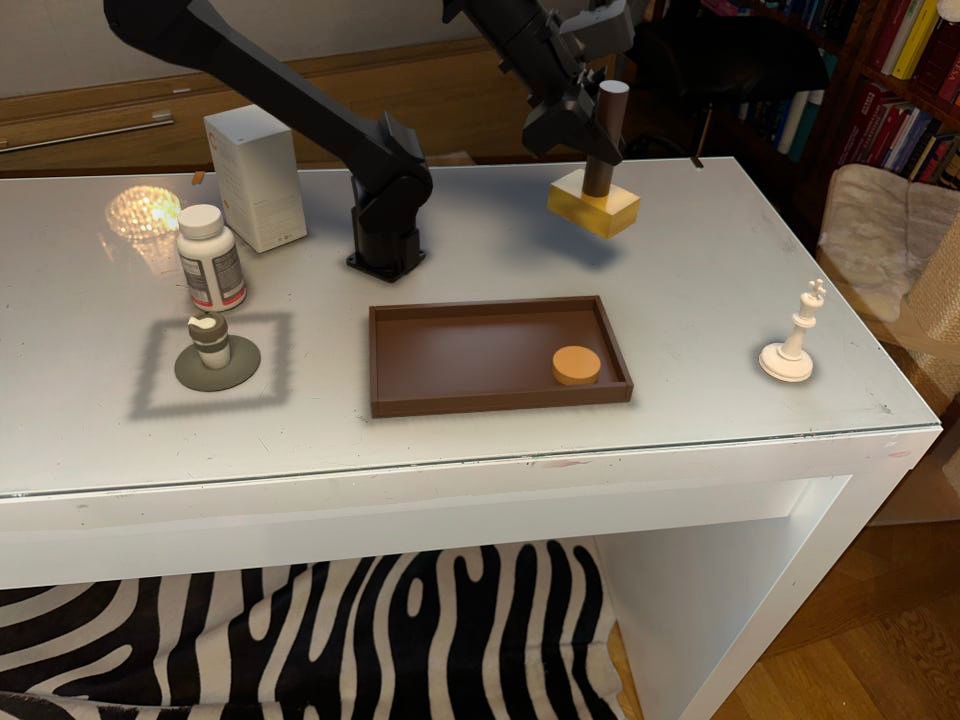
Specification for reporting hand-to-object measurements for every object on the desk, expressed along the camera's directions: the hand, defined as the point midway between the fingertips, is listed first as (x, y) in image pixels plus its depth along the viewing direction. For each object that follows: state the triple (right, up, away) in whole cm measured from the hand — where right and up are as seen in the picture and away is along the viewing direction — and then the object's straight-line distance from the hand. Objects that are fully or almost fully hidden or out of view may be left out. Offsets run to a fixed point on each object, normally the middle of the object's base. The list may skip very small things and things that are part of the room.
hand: (620, 156), depth 74 cm
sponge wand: (-2, -5, +5) cm, 7 cm away
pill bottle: (-41, -14, +3) cm, 43 cm away
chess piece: (+16, -21, -2) cm, 26 cm away
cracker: (-5, -21, -4) cm, 22 cm away
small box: (-39, -5, +13) cm, 41 cm away
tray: (-13, -20, -3) cm, 24 cm away
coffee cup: (-38, -20, -4) cm, 44 cm away
